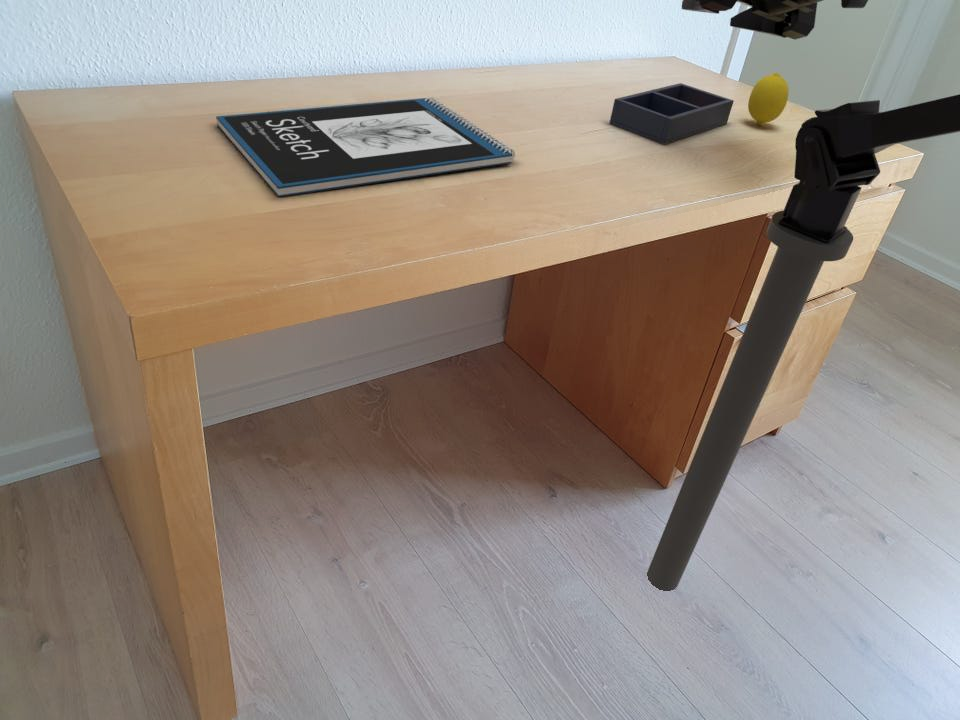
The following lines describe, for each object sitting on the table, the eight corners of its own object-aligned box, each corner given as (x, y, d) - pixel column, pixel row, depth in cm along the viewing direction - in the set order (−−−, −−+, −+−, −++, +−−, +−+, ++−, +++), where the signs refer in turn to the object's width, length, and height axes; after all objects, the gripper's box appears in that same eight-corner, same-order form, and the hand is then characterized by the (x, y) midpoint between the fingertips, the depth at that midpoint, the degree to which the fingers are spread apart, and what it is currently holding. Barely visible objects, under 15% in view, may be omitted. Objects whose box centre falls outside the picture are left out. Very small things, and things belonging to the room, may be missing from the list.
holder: (726, 123, 112) (734, 100, 109) (664, 144, 100) (671, 119, 98) (674, 105, 116) (680, 82, 114) (609, 123, 105) (614, 98, 103)
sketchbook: (216, 127, 87) (215, 110, 86) (432, 109, 102) (433, 94, 100) (278, 198, 73) (277, 178, 72) (517, 165, 88) (520, 148, 86)
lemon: (769, 121, 115) (787, 69, 111) (782, 132, 111) (801, 79, 106) (736, 117, 115) (753, 65, 110) (748, 129, 110) (766, 75, 106)
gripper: (869, -73, 86) (760, -30, 99) (767, -127, 77) (662, -72, 90) (856, 24, 87) (751, 53, 101) (754, -18, 78) (653, 21, 91)
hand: (707, 14), depth 96 cm, fingers open, 9 cm apart
